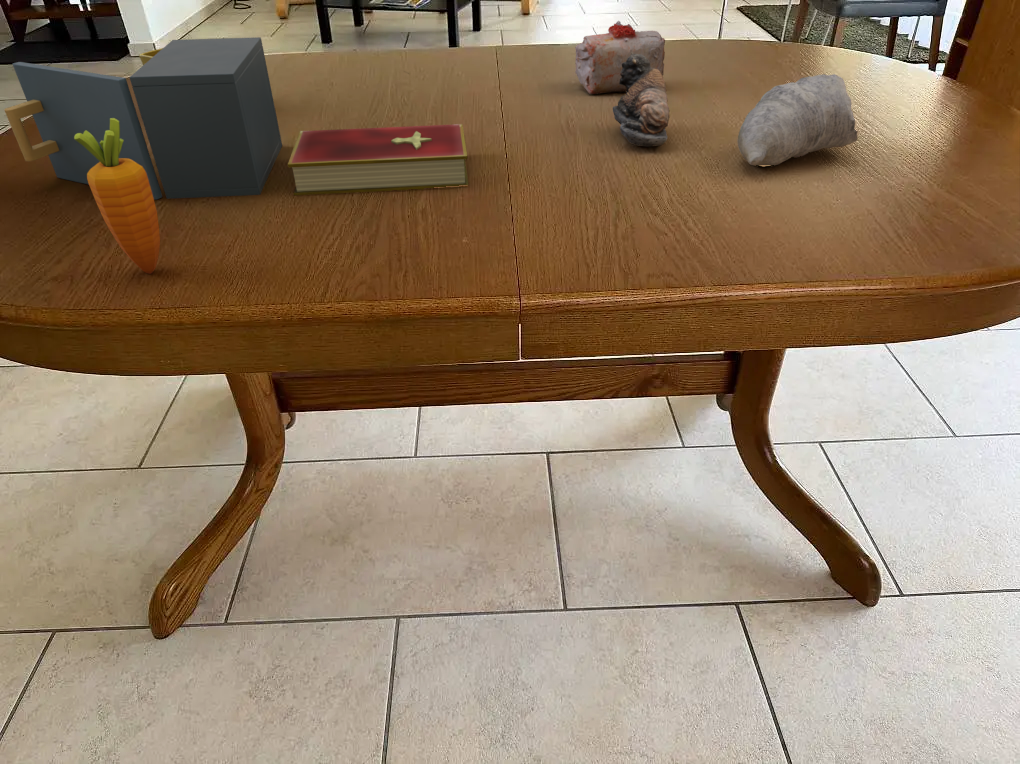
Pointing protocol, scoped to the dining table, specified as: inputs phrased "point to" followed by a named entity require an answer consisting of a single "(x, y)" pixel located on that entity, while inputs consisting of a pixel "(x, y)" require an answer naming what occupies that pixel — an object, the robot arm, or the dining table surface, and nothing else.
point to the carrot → (124, 198)
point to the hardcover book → (379, 159)
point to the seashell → (798, 121)
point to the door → (76, 119)
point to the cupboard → (209, 116)
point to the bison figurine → (642, 103)
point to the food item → (615, 56)
